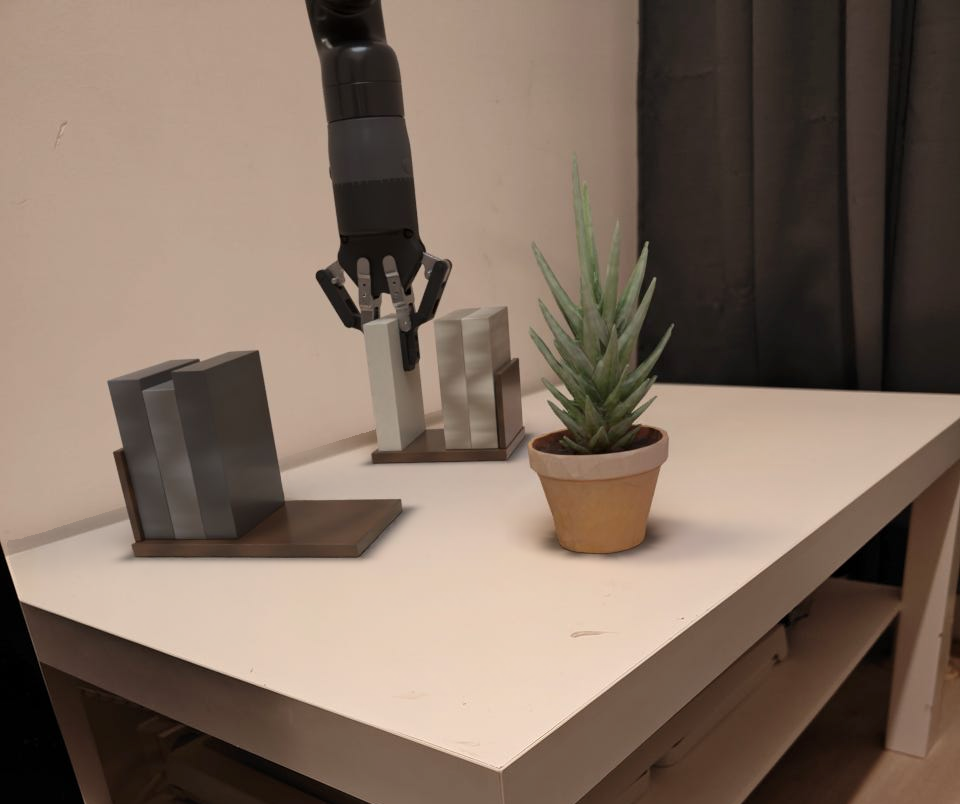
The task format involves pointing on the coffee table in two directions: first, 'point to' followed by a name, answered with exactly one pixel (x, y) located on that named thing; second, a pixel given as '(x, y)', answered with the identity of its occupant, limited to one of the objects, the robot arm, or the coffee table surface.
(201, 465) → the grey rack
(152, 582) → the coffee table surface
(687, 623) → the coffee table surface
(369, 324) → the ivory book
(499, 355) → the ivory shelf
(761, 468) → the coffee table surface
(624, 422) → the potted plant
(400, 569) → the coffee table surface
